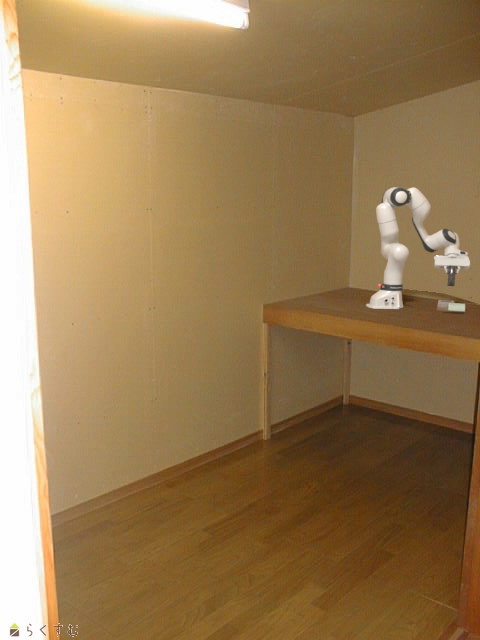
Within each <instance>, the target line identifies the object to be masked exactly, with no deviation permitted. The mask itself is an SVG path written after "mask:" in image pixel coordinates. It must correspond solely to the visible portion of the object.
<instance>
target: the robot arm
mask: <svg viewBox="0 0 480 640" xmlns="http://www.w3.org/2000/svg"><path fill="white" fill-rule="evenodd" d="M405 205H406V206H407V207H408V209H409V210H410V211H411V213H412V218H411V221H412V224H413V227H414V229H415V232H417V235H418V237H419V239H420V241H421V244H422V245H423V249H424V250H425V251H426V252H428V253H431V254H432V253H434V252H435V253H436V252H437V251H438V250H440V249H441V248H444V251H443V252H444V254H437V255H435V256H433V261H434V265H433V267H434V269H441V270H442V269H443V271H444V272H445V275H448V273H449V265H455V266H456V273H455V275H458V274H459V272H460V271H461V270H470V268H471V261H470V257H469V256H468V254H469V253H468V252H467V251H464V250H460V246H461V244H460V238H459V235H458V234H457V233H456V232H454V231H452V230H451V229H448V228H443V229H440V230H439V231H437V232H435V233H433V234H431V235H429V234H428V232H427V230H426V228H425V226H424V221H425V220H426V219H427V218H428V216H429V215H430V213H431V209H432V206H431V203H430V202H429V200H428V198H427V197H426V196H425V195H424V194H423V193H422V192H421V191H420V190H419V188H416V187H414V186H413V187H410V188H407V189H406V188H403V187H397V186H396V187H395V186H394V187H389V188H387V189H385V191H384V192H383V193H382V199H381V203H379V204H378V205H377V206H376V208H375V213H376V221H377V225H378V230H379V234H380V244H381V246H380V247H381V248H380V254H381V256H382V257H383V259H385V260H386V262H387V263H386V267H385V269H384V271H383V283H382V284H381V283H378V284H377V287H378V288H380V289H379V290H378V291H377V292H375V293H374V294H373V295H371V297H370V298H369V299H370V300H369V303H366V304H365V307H367V308H369V309H374V310H400V309H402V308H404V304H403V289H404V287H403V286H404V284H403V278H404V277H403V275H404V268H405V266H406V265H405V264H406V261H407V259H408V258H409V254H410V251H409V248H408V247H407V246H406V245H404V244H403V243H400V241H399V233H400V229H399V224H398V221H397V217H396V216H397V215H396V208H397V207H402V206H405Z"/></svg>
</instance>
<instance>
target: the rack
mask: <svg viewBox="0 0 480 640" xmlns="http://www.w3.org/2000/svg"><path fill="white" fill-rule="evenodd" d="M465 309H466V303H460V302H459V303H458V302H457V303H456V302H454V303H449V306H448V310H453V311H452V312H461V311H465Z"/></svg>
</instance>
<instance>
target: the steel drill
mask: <svg viewBox="0 0 480 640" xmlns="http://www.w3.org/2000/svg"><path fill="white" fill-rule="evenodd" d="M448 270H449V273H448V274H447V283H446V284H447V287H455V286H456V285H455V283H456V274H455V273H456V270H457V269H456V266H455V265H449V269H448Z"/></svg>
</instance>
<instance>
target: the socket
mask: <svg viewBox="0 0 480 640" xmlns="http://www.w3.org/2000/svg"><path fill="white" fill-rule="evenodd" d="M449 303H455V300H451V299H450V300H447V299H438V301H437V304H438V307H448V306H449Z"/></svg>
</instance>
